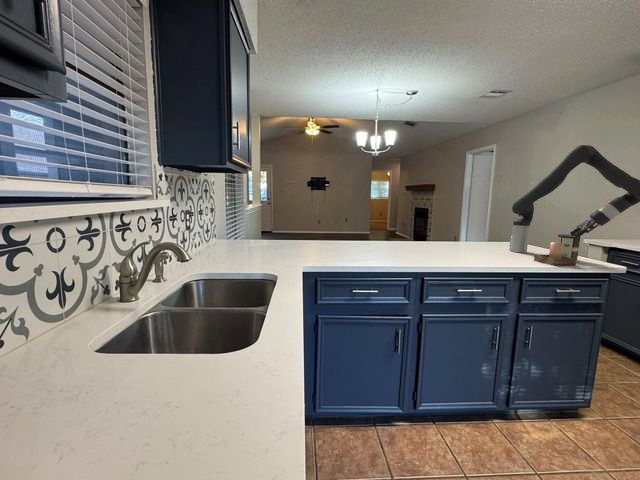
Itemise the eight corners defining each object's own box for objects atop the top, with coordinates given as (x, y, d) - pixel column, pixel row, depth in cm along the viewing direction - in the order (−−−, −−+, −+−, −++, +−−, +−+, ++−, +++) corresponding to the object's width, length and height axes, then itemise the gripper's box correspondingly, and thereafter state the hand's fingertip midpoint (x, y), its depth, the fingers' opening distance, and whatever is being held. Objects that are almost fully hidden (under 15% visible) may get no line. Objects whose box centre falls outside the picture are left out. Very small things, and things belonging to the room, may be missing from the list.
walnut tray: (533, 260, 178) (534, 254, 177) (553, 260, 180) (554, 254, 179) (554, 266, 165) (555, 259, 164) (575, 265, 167) (576, 259, 167)
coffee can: (572, 258, 185) (576, 234, 183) (580, 262, 176) (584, 237, 174) (552, 257, 189) (555, 233, 187) (558, 260, 179) (561, 236, 177)
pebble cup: (545, 260, 175) (548, 241, 173) (554, 260, 175) (556, 241, 174) (554, 262, 169) (557, 243, 168) (563, 262, 170) (566, 243, 169)
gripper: (594, 208, 168) (564, 228, 174) (603, 209, 155) (571, 231, 162) (605, 219, 166) (575, 239, 173) (615, 221, 153) (582, 242, 160)
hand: (573, 235), depth 167 cm, fingers open, 8 cm apart
